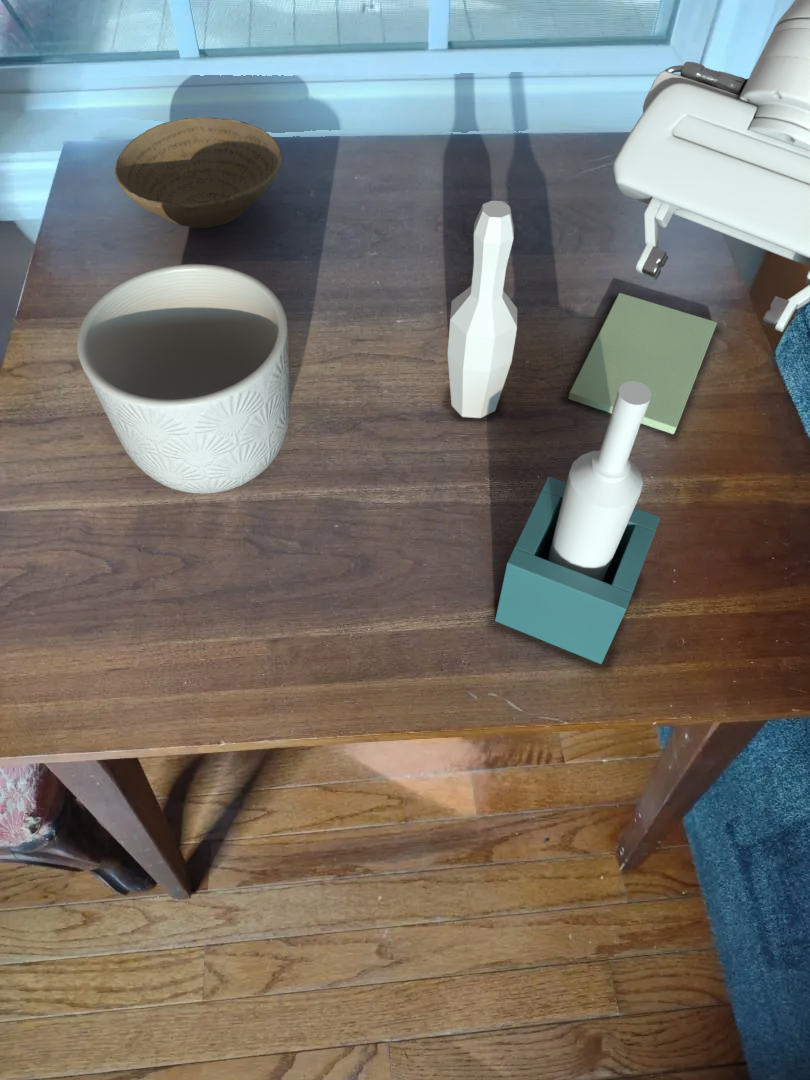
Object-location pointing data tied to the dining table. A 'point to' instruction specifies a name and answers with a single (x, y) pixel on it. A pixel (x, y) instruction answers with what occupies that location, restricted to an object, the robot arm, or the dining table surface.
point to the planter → (191, 373)
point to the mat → (645, 359)
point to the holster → (570, 583)
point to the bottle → (602, 491)
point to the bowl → (199, 169)
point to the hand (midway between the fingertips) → (707, 300)
